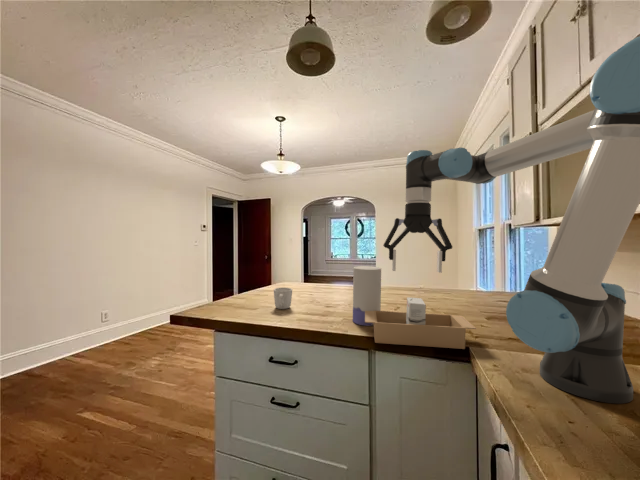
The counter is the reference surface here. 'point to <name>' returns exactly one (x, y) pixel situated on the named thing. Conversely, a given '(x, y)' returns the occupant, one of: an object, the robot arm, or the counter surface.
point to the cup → (282, 297)
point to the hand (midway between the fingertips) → (416, 271)
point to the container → (366, 292)
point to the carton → (419, 329)
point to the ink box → (415, 311)
